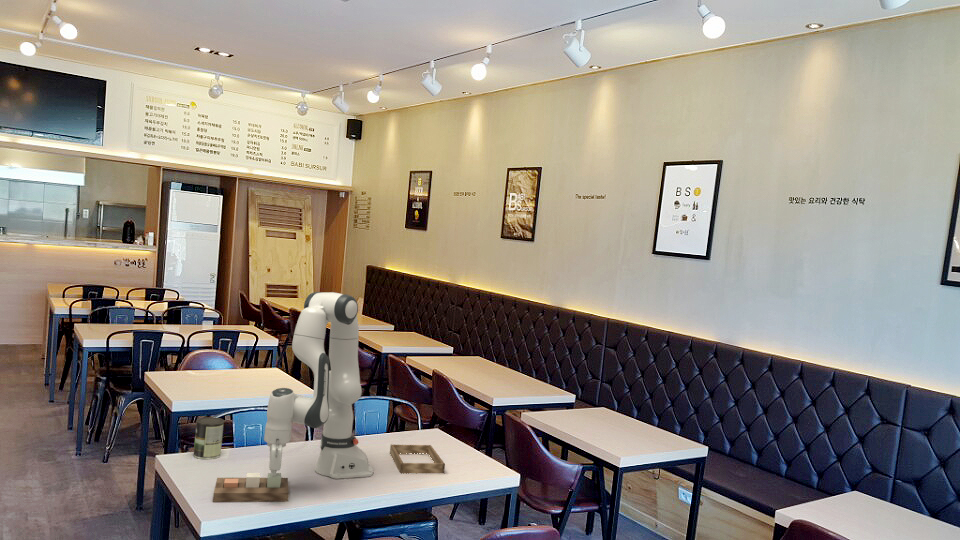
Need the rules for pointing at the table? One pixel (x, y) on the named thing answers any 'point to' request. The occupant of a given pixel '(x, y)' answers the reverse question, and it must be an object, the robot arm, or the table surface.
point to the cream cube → (252, 480)
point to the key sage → (274, 480)
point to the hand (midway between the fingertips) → (273, 475)
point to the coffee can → (208, 438)
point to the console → (250, 492)
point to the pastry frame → (417, 467)
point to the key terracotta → (231, 483)
